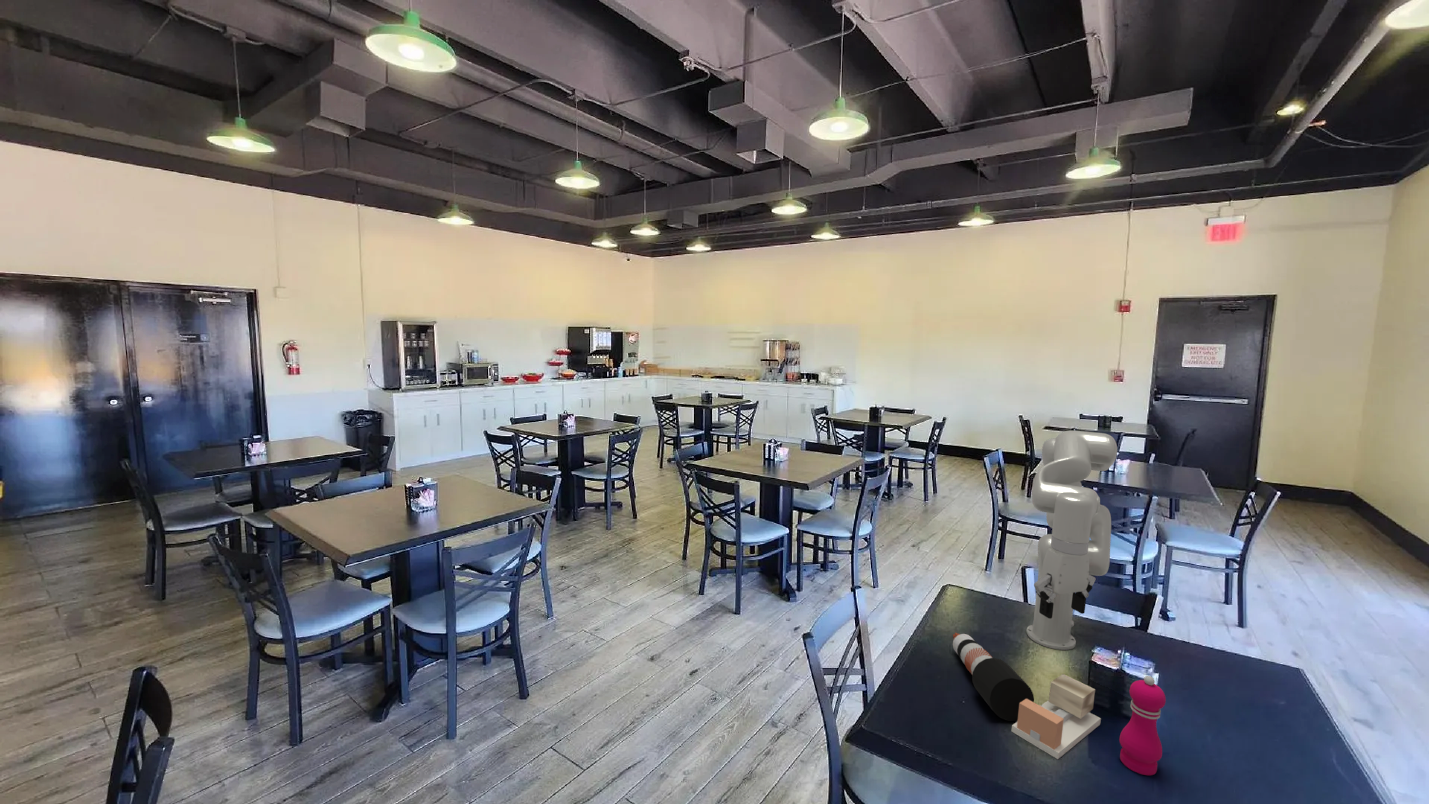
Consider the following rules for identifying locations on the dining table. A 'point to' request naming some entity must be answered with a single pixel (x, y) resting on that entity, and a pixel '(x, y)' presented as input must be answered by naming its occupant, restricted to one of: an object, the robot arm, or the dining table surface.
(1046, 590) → the robot arm
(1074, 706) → the block
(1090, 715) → the rail base
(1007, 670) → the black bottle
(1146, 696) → the pepper mill
